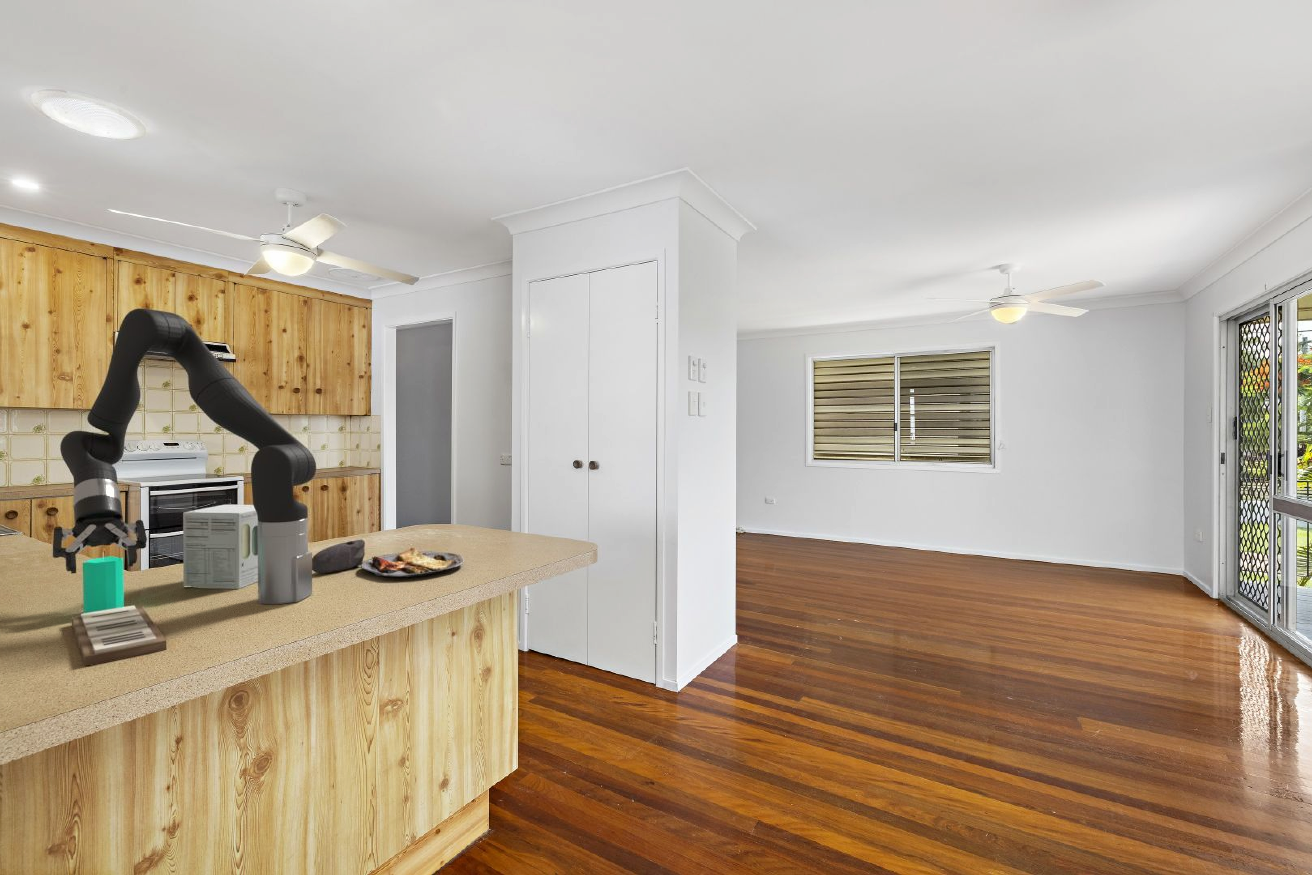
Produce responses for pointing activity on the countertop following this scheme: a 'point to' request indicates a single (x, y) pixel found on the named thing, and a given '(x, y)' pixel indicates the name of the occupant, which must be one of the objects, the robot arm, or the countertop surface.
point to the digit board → (116, 634)
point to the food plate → (411, 563)
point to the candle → (103, 584)
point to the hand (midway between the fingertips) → (103, 567)
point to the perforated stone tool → (339, 557)
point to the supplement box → (220, 547)
